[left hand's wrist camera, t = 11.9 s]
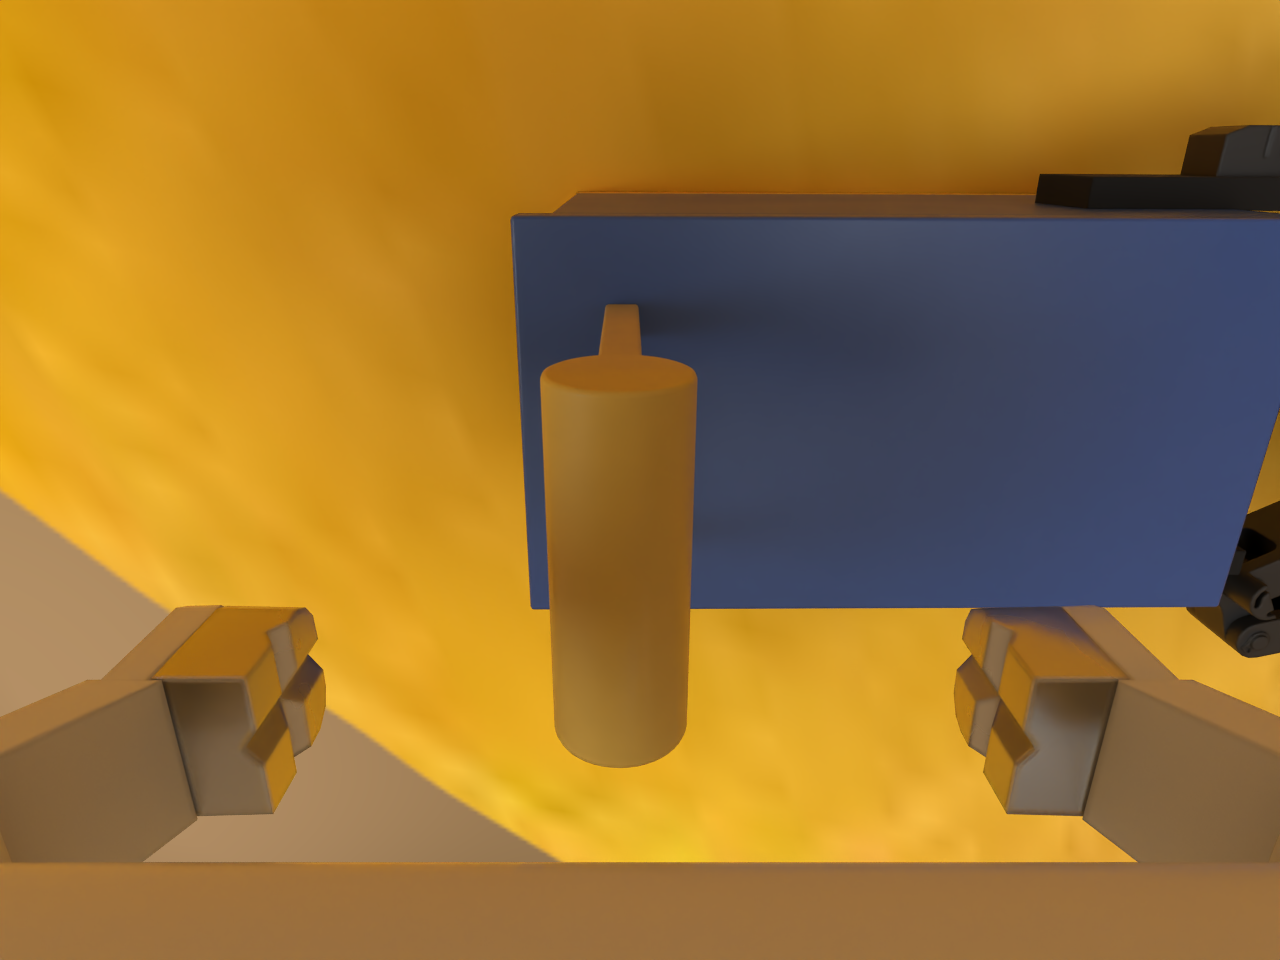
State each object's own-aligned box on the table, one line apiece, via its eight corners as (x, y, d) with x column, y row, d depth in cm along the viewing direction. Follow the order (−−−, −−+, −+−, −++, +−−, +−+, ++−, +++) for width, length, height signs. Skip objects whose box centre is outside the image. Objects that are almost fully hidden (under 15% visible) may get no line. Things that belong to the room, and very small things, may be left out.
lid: (533, 594, 21) (479, 851, 13) (514, 212, 17) (425, 259, 10) (1198, 592, 21) (1525, 843, 13) (1309, 215, 18) (1837, 264, 10)
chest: (583, 454, 30) (563, 593, 21) (577, 191, 27) (549, 212, 17) (1018, 454, 31) (1197, 591, 21) (1068, 193, 27) (1308, 215, 18)
